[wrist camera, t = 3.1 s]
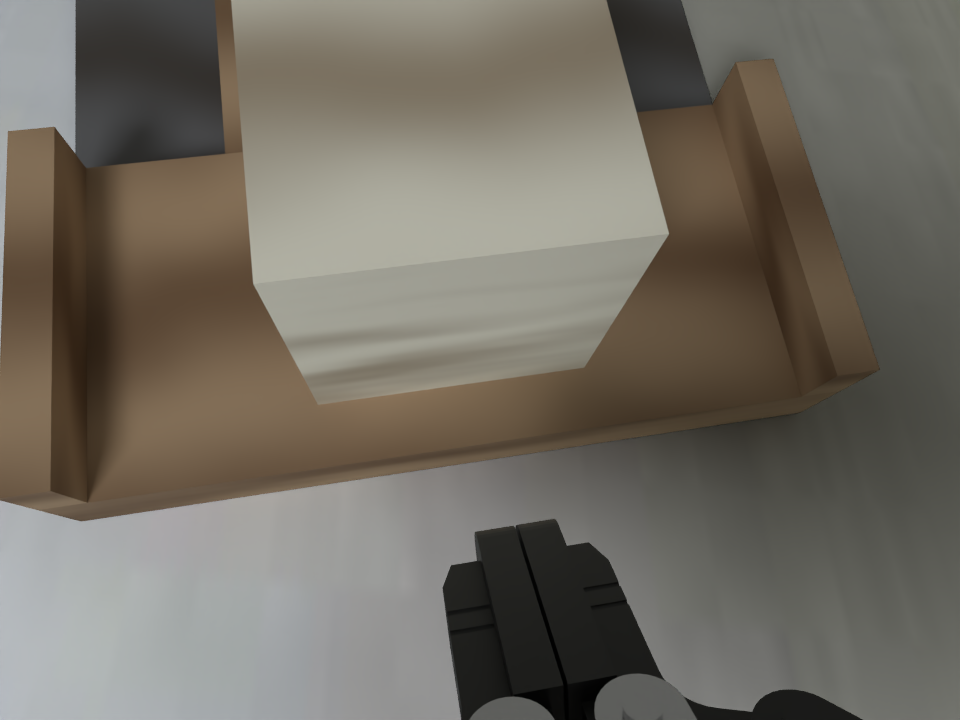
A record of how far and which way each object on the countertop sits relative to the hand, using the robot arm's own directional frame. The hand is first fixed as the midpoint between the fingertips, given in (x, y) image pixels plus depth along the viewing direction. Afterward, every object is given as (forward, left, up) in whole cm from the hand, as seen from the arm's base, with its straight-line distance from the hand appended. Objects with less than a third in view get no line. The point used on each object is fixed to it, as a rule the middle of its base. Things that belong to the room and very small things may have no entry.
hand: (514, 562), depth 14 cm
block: (-3, +8, -6) cm, 11 cm away
